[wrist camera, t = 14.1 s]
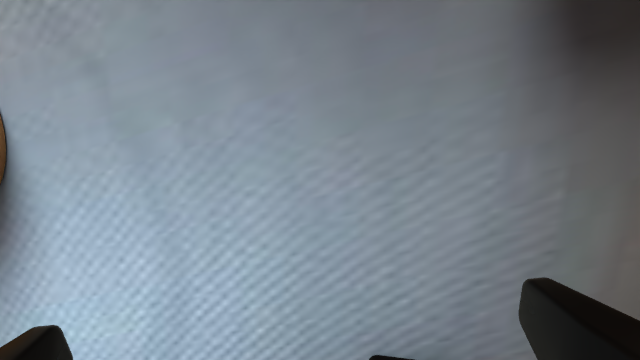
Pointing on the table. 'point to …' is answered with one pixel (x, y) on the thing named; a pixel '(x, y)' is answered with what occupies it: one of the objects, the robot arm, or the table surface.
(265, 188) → the table surface
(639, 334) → the robot arm
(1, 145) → the display stand
